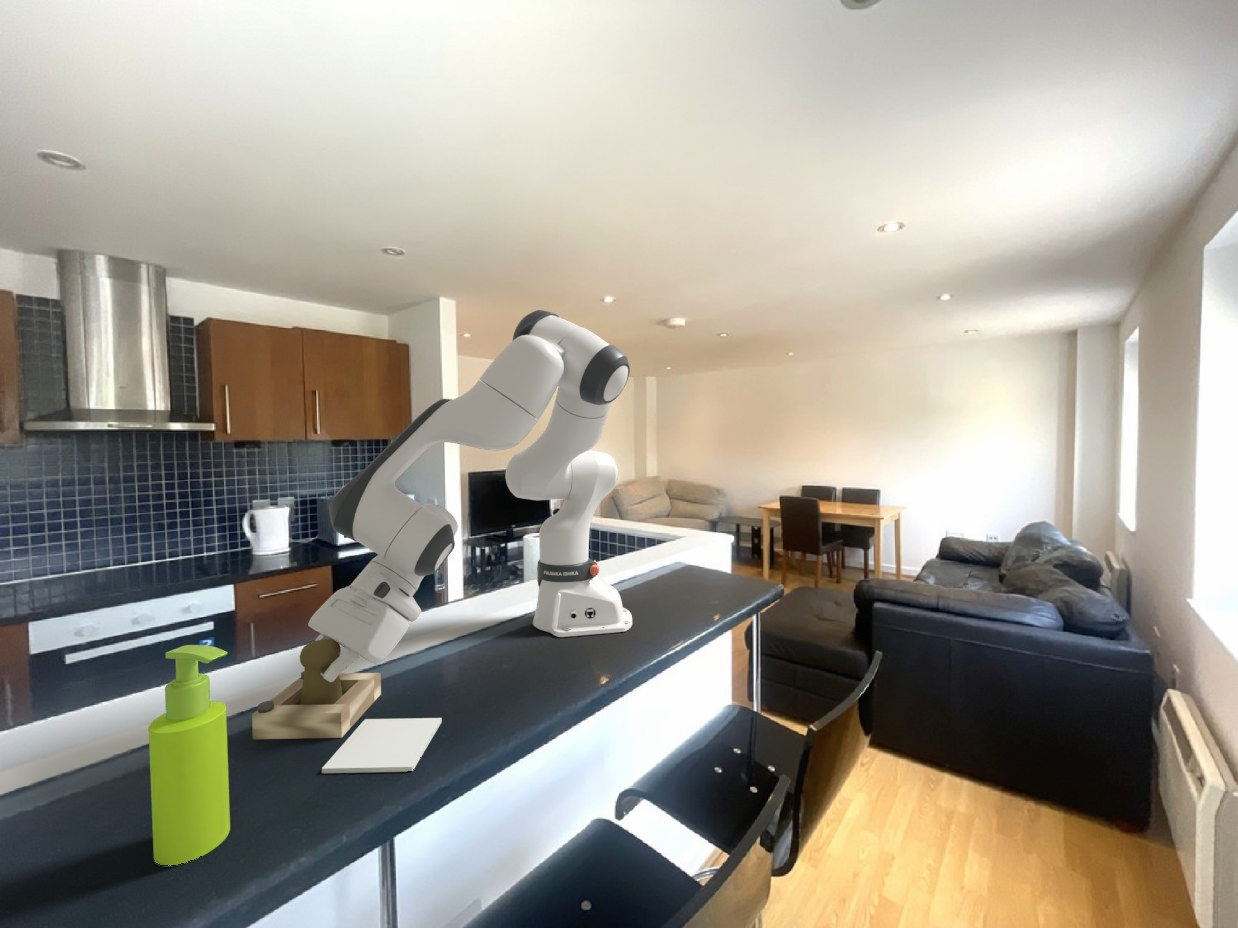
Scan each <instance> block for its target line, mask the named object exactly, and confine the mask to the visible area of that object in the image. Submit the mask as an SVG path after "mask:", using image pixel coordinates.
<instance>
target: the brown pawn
mask: <svg viewBox="0 0 1238 928" xmlns="http://www.w3.org/2000/svg"><path fill="white" fill-rule="evenodd" d="M341 651H342V649H341V645H340V644H338V643H337V642H336V641H334V640H332V639H323V640H317V641H315V640H314V641H311V642H308V643H307V644H306V645H305V646H303V647H302V649H301V651H300V653H299V661H300V664H301V666H302V667H303V669H304V670H303V671H304V678H303V686H302V694H301V702H300V705H332V704H334V703H336V702H337V701H338V700H339V699H340V698H341V697H342V696H343V694H342V688H341V683H340V677H339V675H338V677H337V678H336V679H335V680H334V681H333V682H329V681H328V680H326V679H324V678H323V677H321V676H320V673H321V671H322V670H324V668H325V666H326V665H327V664H329V665H330V664H331V663H333V662H334V661H335V660H336V659H337V658H338V657H339V656H340V652H341Z"/></svg>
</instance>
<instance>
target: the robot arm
mask: <svg viewBox="0 0 1238 928" xmlns="http://www.w3.org/2000/svg"><path fill="white" fill-rule="evenodd" d="M630 371H631V370H630V364H629V359H628V357H627V356H626V355H625V354H624V353H623V352H622V350H620V348H618V346H617V347H616V346H615V345H614V344H613V345H612V344H610V343H608V342H607V341H605V340H604V339H603V338H601V337H600V336H599V335H597V334H596V333H594V332H592V331H591V330H589V329H588V328H586V327H583V326H580V325H578V324H576V323H574V322H572V321H570V320H566V319H564V318H563V317H560V316H559V315H558V314H556V313H554V312H550V311H548V310H543V309H537V310H534V311H532V312H530V313H528V314H527V315H524V317H523V318H522V319H520V321H519V322H518V324H517V326H516V327H515V329H514V332H513V337H512V341H511V342H510V343H509V344H508V345H507V346H506V347H505V348H503V350H502V351H501V352H500V353H499V354H498V355H497V356H496V358H495V359H494V360H493V361H492V362H491V363H490V364H489V366H488V367H487V368H486V369H485V371H484V372H483V374H482V375H481V376H480V377H479V379H478V381H477V382H476V383H475V385H473V386H472V388H470V389H469V390H468V391H467V392H465V393H463V394H462V395H460V396H458V397H456V398H454V399H450V398H441V399H440V400H438V401H436V402H434V403H433V404H431V405H430V406H429V407H427V408H426V409H425V410H424V411H423V412H421V413H420V414H419V416H417V417H416V418H415V419H414V420H413V421H411V423H410V424H408V426H407V427H406V428H405V429H404V430H403V431H402V432H400V433H399V434H398V435H397V436H396V438H394V439H393V440H392V442H391V443H389V444H388V445H387V446H386V448H384V450H382V451H381V452H380V453H379V454H378V455H377V456H376V457H375V458H374V459H373V460H372V461H371V462H370V463H369V464H368V465H367V466H366V467H365V468H364V469H362V471H360V472H359V473H358V474H357V475H356V476H354V477H353V478H352V479H351V480H349V482H347V483H346V484H345V485H344V486H342V487H341V488H340V489H339V490H338V491H337V493H336V494H335V495H334V497H333V499H332V500H331V502H330V503H329V506H328V511H329V517H330V522H331V525H332V528H333V530H334V532H336V533H337V534H341V535H342V536H344V537H346V538H348V539H350V540H352V541H354V542H357V543H359V544H361V545H362V546H364V547H365V548H367V549H369V550H370V551H372V552H374V553H375V554H377V555H376V556H375V557H373V558H371V560H370V561H369V563H368V564H366V566H365V567H364V568H363V569H362V571H361V572H360V573H359V574H358V575H357V577H356V578H355V579H354V580H353V581H352V583H351V584H350V585H348V586H347V585H346V586H345V587H344V588H340V589H338V590H336V591H335V592H334V593H332V595H331V596H329V598H327V600H326V601H325V602H324V603H322V605H320V607H319V608H318V609H317V610H316V611H315V612H314V614H313V615H312V616H311V617H310V619H309V621H308V624H307V625H308V627H309V628H311V629H313V630H314V631H316V632H317V633H319V635H318V636H317V637H316V639H314V641H317V640H323V639H332V640H334V641H336V642H337V643H338V644H339V645H340V646H342V647H343V648H342V649H341V652H340V656H339V657H338V658H337V659H336V660H335V661H334V662H333V663H331V664H330V665H329V664H327V665H326V666H325V668H324V670H322V671H321V673H320V676H321V677H323V678H324V679H326V680H328V681H329V682H333V681H334V680H335V679H336V678H337V677H338V675H339V674H340V673H342V672H343V671H345V670H347V668H349V667H350V666H352V665H353V664H355V663H356V661H357V659H359V657H361V658H362V659H365V660H366V661H368V662H370V663H371V664H373V665H378V664H380V663H382V662H383V661H385V660H386V659H387V657H389V656H390V654H391V653H392V652H393V650H395V647H397V645H398V644H399V642H400V641H401V640H402V639H403V637H404V635H405V634H406V633H407V632H408V629H409V628H410V627H409V626H410V622H415V621H416V620H418V618H419V617H420V616H421V614H422V608H421V607H420V606H419V605H418V603H417V601H416V600H415V597H413V596H414V595H415V593H416V592H417V591H418V589H419V588H420V585H421V582H422V581H423V579H424V577H426V576H429V575H433V574H436V573H437V572H438V570H439V569H440V568H441V566H442V565H443V563H444V562H445V561H446V559H447V558H448V557H449V556H450V554H452V552H453V550H454V548H455V546H456V545H455V544H456V543H455V536H456V534H457V533H458V529H459V525H458V522H457V520H456V518H455V516H454V515H453V514H452V513H451V512H449V511H448V510H447V509H446V508H445V507H443V506H441V505H438V504H436V503H425V504H421V503H420V502H418V501H416V500H415V499H414V498H412V497H410V496H409V495H408V494H406V493H404V492H402V491H401V490H399V489H398V488H397V486H396V482H397V480H398V479H399V477H401V475H403V473H405V472H406V471H407V469H409V467H411V465H413V463H414V462H415V461H416V460H417V459H419V458H420V456H422V455H423V453H424V452H425V451H427V450H428V449H429V448H431V447H433V446H434V445H437V444H441V443H450V444H451V443H452V444H456V445H462V446H464V447H465V446H466V447H469V448H470V447H471V448H474V449H479V450H483V451H484V450H485V451H491V452H493V451H494V452H495V451H496V452H497V451H506V450H509V449H512V448H514V447H515V448H516V446H518V445H519V444H520V443H521V442H523V440H524V439H525V438H526V437H527V435H529V433H530V432H531V431H532V430H533V428H534V427H535V425H536V424H537V423H538V420H540V418H541V417H542V415H543V414H544V412H545V411H546V409H547V408H548V405H549V404H550V402H551V400H552V398H553V396H554V394H555V393H556V396H555V400H554V402H553V403H554V404H553V408H552V410H551V411H552V412H551V414H550V418H549V421H548V424H547V427H545V429H544V431H543V433H541V435H540V437H538V438H537V439H536V440H535V441H534V442H533V443H532V444H531V445H530V446H528V447H527V448H525V449H524V450H522V451H519V452H517V453H516V454H514V455H513V456H512V457H511V458H510V459H509V461H508V463H507V465H506V469H505V476H504V477H505V482H506V486H507V488H508V489H509V492H510V493H511V494H512V495H513V496H514V497H515V498H519V499H525V500H531V501H552V500H563V501H562V502H563V503H562V505H561V507H560V509H559V510H558V511H557V512H556V513H554V514H553V515H551V516H549V517H548V518H547V519H545V520H544V522H543V523H542V524H541V526H540V528H539V533H538V535H539V540H538V541H539V559H538V561H537V565H536V577H537V578H536V580H537V586H538V593H537V602H536V607H535V612H534V616H533V620H532V625H533V627H535V628H536V629H538V630H540V631H544V632H547V633H550V634H552V635H553V636H555V637H559V638H565V637H577V636H589V635H601V634H602V635H603V634H615V633H621V632H627V631H628V630H630V629H631V627H632V626H633V616H632V613H631V612H630V610H628V609H627V608H625V607H624V606H623V601H622V597H621V595H620V593H619V591H618V590H617V589H616V588H615V587H614V586H612V585H611V584H610V583H608V582H607V581H606V580H604V579H603V578H602V577H600V576H599V573H600V567H599V565H598V562H597V561H596V559H594V560H593V559H592V558H590V557H589V556H590V555H589V553H590V552H589V550H590V549H589V545H590V544H589V542H590V529H591V523H592V520H593V517H594V514H595V513H596V510H597V508H598V507H599V505H600V504H601V502H602V501H603V500H604V499H605V497H607V496H608V495H609V494H610V493H611V492H612V491H613V490H614V489H615V488H616V485H617V483H618V479H619V470H618V465H617V462H616V461H615V459H614V457H612V455H611V454H609V453H606V452H603V451H599V450H598V451H596V450H593V448H594V447H595V446H596V445H597V444H598V443H599V441H600V440H601V437H602V435H603V432H604V429H605V425H606V422H607V418H608V415H609V412H610V408H611V405H612V402H613V401H616V399H617V398H618V397H619V396H620V395H621V393H622V392H623V390H624V389H625V386H627V385H626V384H627V382H628V381H629V380H628V379H629V376H630Z"/></svg>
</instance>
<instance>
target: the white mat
mask: <svg viewBox="0 0 1238 928" xmlns="http://www.w3.org/2000/svg"><path fill="white" fill-rule="evenodd" d="M442 722H443V719H442V717H422V718H421V717H420V718H419V717H418V718H416V717H415V718H410V717H408V718H365V719H364V720H363V721H362V722H361V723H360V725H359V726H358V727H356V728H355V730H354V731H353V732H352V734H351V735H350V736H348V738H347V739H346V740H345V742H343V743H342V744H341V746H340V747H339V748H338V749H337V750H336V752H335V753H334V754H333V755H332V756H331V757H330V759H329V760H327V762H326V763H325V764H324V765H323V766H322V767H321V774H344V773H345V774H356V773H357V774H358V773H402V772H406V773H407V771H412V772H413V771H414V770H415V768H416V767H417V765H418V763H419V761H420V760H421V758H422V756H423V755H424V752H425V751H426V750H427V748H428V746H429V744H430V743H431V741H432V739H433V737H434V736H435V734H436V732H437V731H438V729H439V727H440V726H441V724H442ZM420 757H421V758H420ZM413 769H414V770H413Z"/></svg>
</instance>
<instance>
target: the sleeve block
mask: <svg viewBox="0 0 1238 928" xmlns="http://www.w3.org/2000/svg"><path fill="white" fill-rule="evenodd" d="M339 677H340V683H341V688H342V694H343V696H342V697H341V698H340V699H339V700H338V701H337V702H336V703H334V704H332V705H300V702H301V694H302V686H303V678H304V670H303V671H302V672H300V677H299V678H298V679H296V680H295V681H294V682H292V683H291V684H289V686H287V687H286V688H284V689H283V690H282V691H280V692H279V693H277V695H275V696H274V697H272V699H270V700H266V701H263V702H262V701H261V702H260V703H259V704H258V705H257V709H256V710H255V712H253V713H251V723H252V724H251V725H252V740H284V739H285V740H286V739H291V740H292V739H295V740H296V739H339V738H343V737H344V736H345V735H346V733H347V732H349V730H351V728H352V727H353V726H354V725H355V724H356V722H357V721H359V719H360V718H361V717H362V716H363V715H364V714H365V712H367V710H368V709H369V708H370V707H371V706H372V705H373V704H374V702H375V701H376V700H377V699H378V698H379V697H380V696H381V695H382V686H381V685H382V683H381V682H382V678H381V672H357V673H356V672H352V673H350V672H347V673H344V672H343V673H342V672H341V673H340V674H339Z"/></svg>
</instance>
